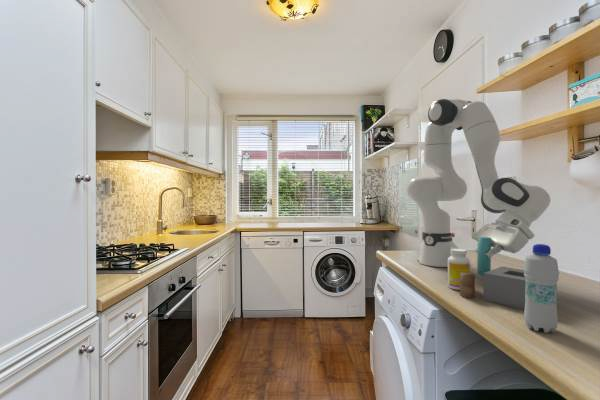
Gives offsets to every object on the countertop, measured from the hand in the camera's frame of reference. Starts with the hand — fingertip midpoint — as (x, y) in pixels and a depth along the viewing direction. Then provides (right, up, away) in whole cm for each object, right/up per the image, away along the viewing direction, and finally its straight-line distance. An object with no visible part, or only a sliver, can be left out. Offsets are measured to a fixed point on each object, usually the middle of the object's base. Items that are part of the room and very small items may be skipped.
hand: (482, 254), depth 113 cm
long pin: (+1, -7, 0) cm, 7 cm away
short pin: (-11, -11, -12) cm, 20 cm away
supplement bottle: (-10, -11, -4) cm, 15 cm away
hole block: (+1, -11, -17) cm, 20 cm away
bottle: (-7, -12, -36) cm, 39 cm away
